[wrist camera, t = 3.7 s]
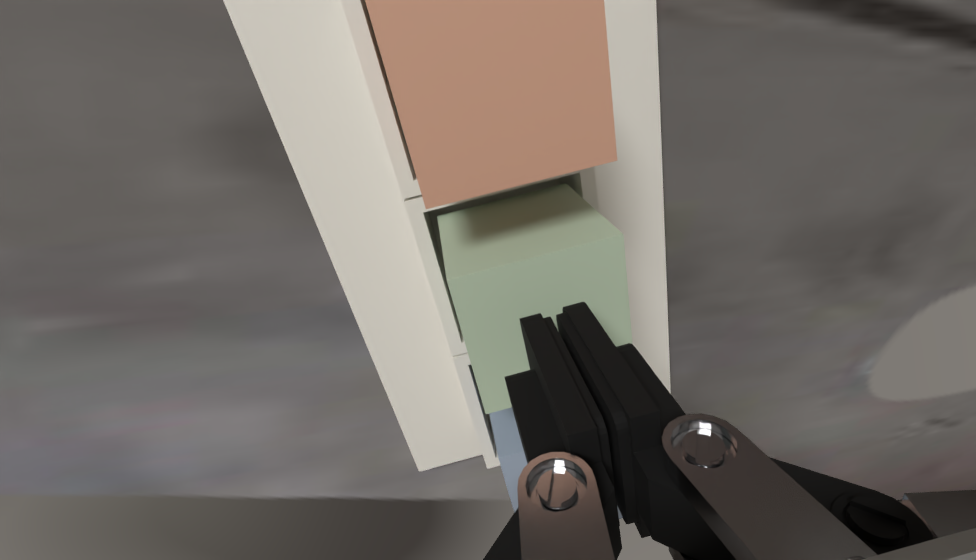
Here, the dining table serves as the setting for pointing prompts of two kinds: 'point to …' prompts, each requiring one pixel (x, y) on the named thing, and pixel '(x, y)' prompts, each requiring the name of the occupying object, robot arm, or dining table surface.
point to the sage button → (529, 276)
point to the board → (414, 229)
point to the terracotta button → (497, 90)
